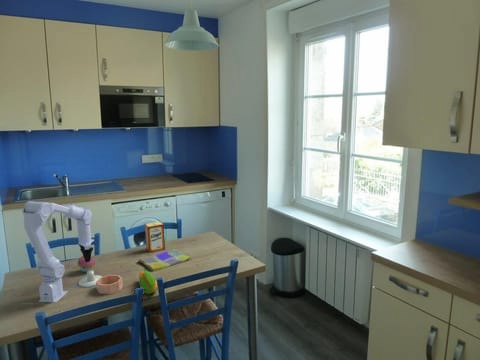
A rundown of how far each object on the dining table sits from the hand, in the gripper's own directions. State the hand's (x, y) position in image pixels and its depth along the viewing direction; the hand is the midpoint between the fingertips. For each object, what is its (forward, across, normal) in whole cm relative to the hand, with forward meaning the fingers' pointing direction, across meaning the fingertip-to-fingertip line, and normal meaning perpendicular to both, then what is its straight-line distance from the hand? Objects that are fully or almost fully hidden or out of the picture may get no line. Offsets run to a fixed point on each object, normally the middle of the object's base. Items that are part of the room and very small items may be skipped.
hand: (86, 259), depth 177 cm
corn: (+10, -26, -22) cm, 36 cm away
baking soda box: (+10, +20, -40) cm, 45 cm away
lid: (+9, -7, 0) cm, 12 cm away
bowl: (+10, -19, -7) cm, 22 cm away
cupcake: (+8, +9, +1) cm, 12 cm away
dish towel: (+10, 0, -39) cm, 40 cm away
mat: (+10, -7, 0) cm, 12 cm away
